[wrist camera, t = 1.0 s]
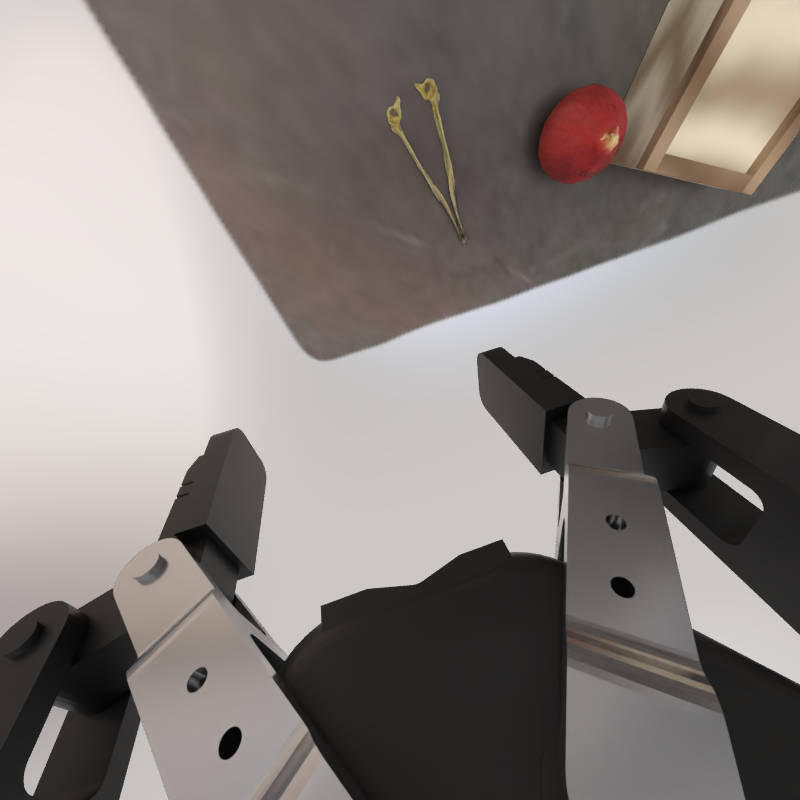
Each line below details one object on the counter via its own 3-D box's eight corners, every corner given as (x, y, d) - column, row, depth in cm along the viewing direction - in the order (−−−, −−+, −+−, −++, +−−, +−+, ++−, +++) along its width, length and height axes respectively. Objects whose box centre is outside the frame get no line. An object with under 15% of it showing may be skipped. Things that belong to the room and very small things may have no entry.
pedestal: (696, -59, 22) (787, -99, 17) (814, -3, 25) (916, -26, 20) (596, 160, 29) (642, 169, 25) (695, 183, 32) (751, 195, 28)
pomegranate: (601, 120, 27) (677, 124, 22) (550, 189, 30) (604, 209, 24) (560, 67, 25) (633, 55, 19) (508, 149, 28) (558, 160, 22)
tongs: (453, 251, 33) (459, 257, 32) (379, 110, 25) (382, 109, 24) (490, 225, 32) (497, 230, 31) (424, 69, 24) (430, 65, 23)
